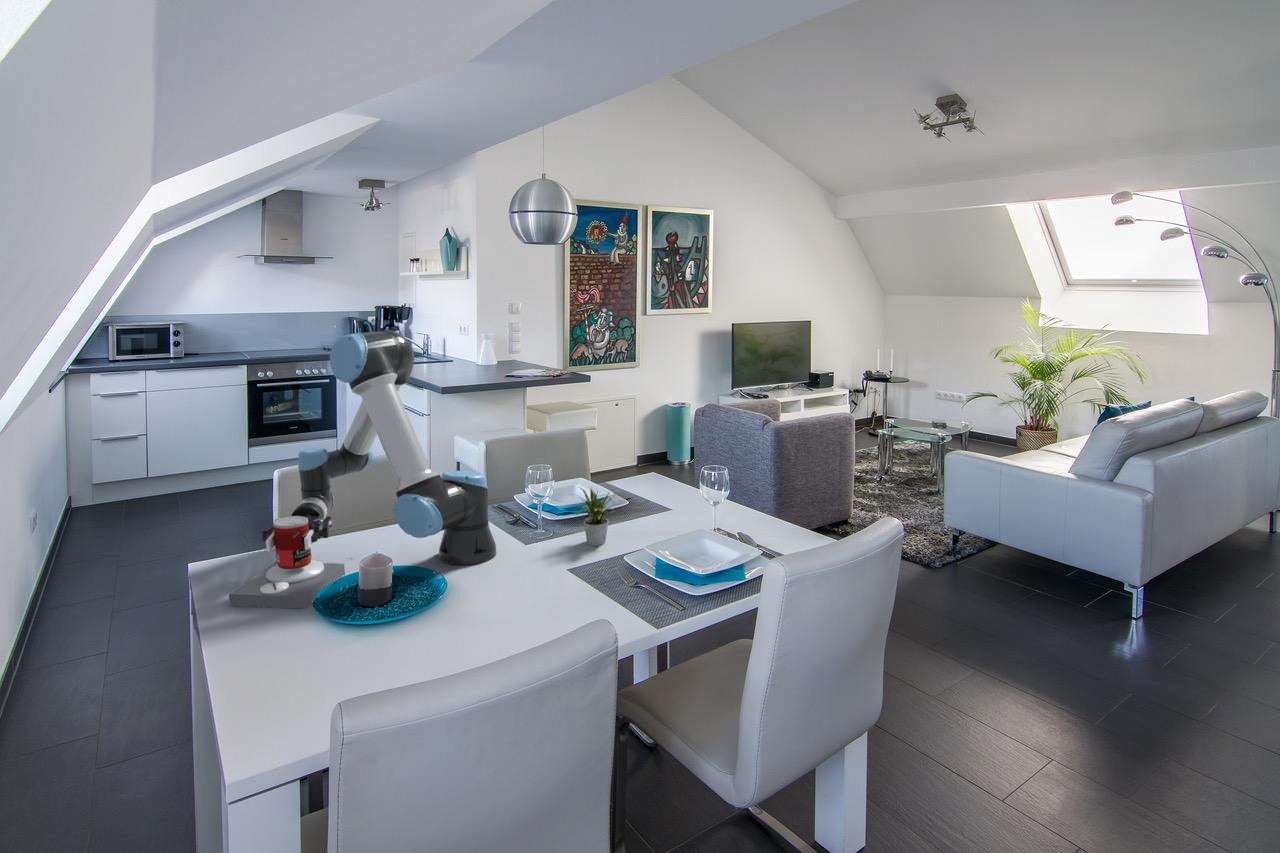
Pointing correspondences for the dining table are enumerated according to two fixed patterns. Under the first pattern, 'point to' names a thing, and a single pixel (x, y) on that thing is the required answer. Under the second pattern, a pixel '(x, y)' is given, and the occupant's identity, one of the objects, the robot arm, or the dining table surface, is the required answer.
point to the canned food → (291, 542)
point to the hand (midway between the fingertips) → (287, 545)
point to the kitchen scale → (286, 586)
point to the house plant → (595, 519)
